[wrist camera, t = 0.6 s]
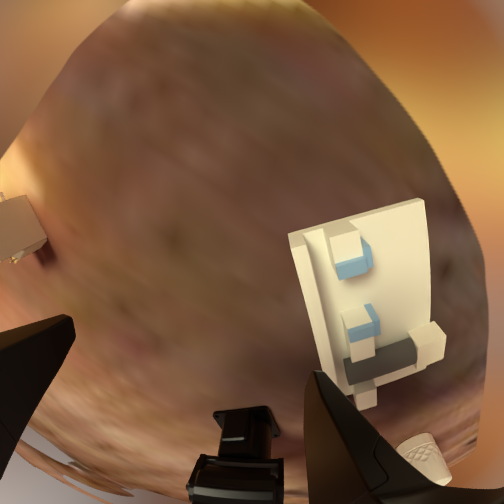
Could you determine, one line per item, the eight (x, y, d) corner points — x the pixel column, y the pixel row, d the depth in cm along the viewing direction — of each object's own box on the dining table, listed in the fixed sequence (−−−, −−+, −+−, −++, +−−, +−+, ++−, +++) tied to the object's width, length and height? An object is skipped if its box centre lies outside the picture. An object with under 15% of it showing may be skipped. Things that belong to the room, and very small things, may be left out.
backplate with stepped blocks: (422, 362, 24) (436, 386, 20) (328, 393, 26) (333, 421, 22) (417, 197, 19) (444, 207, 15) (287, 233, 21) (291, 251, 17)
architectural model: (37, 253, 24) (-8, 279, 17) (12, 202, 22) (-35, 219, 15) (51, 237, 23) (1, 263, 16) (24, 184, 21) (-26, 198, 14)
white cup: (413, 429, 29) (431, 481, 19) (443, 429, 29) (461, 473, 20) (381, 456, 31) (392, 504, 22) (413, 455, 32) (425, 497, 22)
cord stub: (432, 342, 22) (443, 358, 20) (345, 373, 24) (350, 392, 21) (434, 320, 21) (446, 336, 19) (341, 352, 23) (347, 371, 20)
